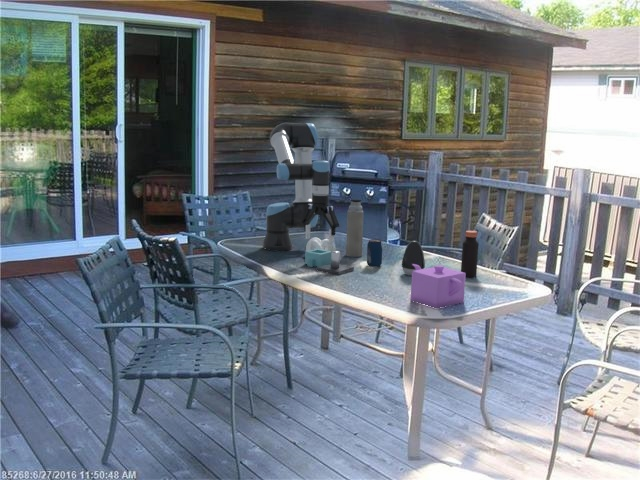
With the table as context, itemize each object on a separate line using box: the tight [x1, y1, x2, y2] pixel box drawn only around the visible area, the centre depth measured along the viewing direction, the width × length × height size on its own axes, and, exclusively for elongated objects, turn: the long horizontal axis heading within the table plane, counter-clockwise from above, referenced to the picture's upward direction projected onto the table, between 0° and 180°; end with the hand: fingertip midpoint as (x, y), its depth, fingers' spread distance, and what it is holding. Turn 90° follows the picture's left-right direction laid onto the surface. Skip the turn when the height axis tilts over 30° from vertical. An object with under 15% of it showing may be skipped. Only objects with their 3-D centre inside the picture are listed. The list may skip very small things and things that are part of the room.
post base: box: [316, 250, 355, 276], centre depth 290 cm, size 12×12×8 cm
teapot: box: [410, 264, 466, 309], centre depth 244 cm, size 15×25×14 cm, turn 38°
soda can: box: [366, 238, 383, 268], centre depth 301 cm, size 7×7×12 cm
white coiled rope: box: [305, 236, 331, 252], centre depth 318 cm, size 11×12×9 cm
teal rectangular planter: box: [304, 249, 331, 268], centre depth 302 cm, size 14×9×6 cm, turn 143°
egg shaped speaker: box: [401, 240, 426, 277], centre depth 285 cm, size 10×10×15 cm
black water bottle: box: [460, 230, 479, 279], centre depth 284 cm, size 7×7×20 cm
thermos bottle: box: [345, 198, 365, 258], centre depth 321 cm, size 8×8×28 cm
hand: (319, 240), depth 300 cm, fingers open, 13 cm apart
